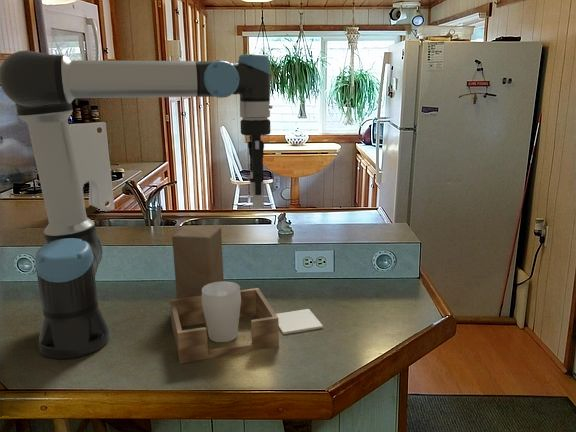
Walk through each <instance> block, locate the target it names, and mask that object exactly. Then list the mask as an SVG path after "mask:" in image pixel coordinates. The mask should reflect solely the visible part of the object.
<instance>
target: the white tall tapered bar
mask: <svg viewBox="0 0 576 432" xmlns="http://www.w3.org/2000/svg"><path fill="white" fill-rule="evenodd" d="M68 124H69V123H68ZM99 128H100V129H101V132H98V129H99ZM69 130H70V135H71V140H72V145H73V150H74V155H75V160H76V165H77V170H78V176H79V181H80V186H81V191H82V196H83V201H84V206H85V207H86V203H85V198H84V197H85V195H84V186H85V184H86V183H89V185H88V186H89V187H88V188H89V191H88V206H89V205H93V206H95V207H97V208H98V209H100V210H99V212H100V211H105V212H111V211H115V199H114V190H113V180H112V179H113V178H112V170H111V161H110V151H109V142H108V141H109V140H108V132H107V131H108V130H107V123H106V121H102V122H89V123H88V122H87V123H73V124H71V123H70V124H69ZM106 202H109V204H108V205H106ZM98 209H97V210H98Z"/></svg>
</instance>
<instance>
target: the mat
mask: <svg viewBox="0 0 576 432" xmlns="http://www.w3.org/2000/svg"><path fill="white" fill-rule="evenodd" d="M275 314H276V315H277V317H278V321H279V331H280V332H281V334H282V335H289V334H293V333H294V334H296V333H300V332H301V333H302V332H307V331H314V330H320V329H323V328H324V326H323V324H322V323H321V322H320V321H319V319H318V318H317V317H316V316H315V314H314V313H313V312H312V311H311V310H310V308H305V309H299V310H292V311H285V312H280V313H275Z"/></svg>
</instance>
